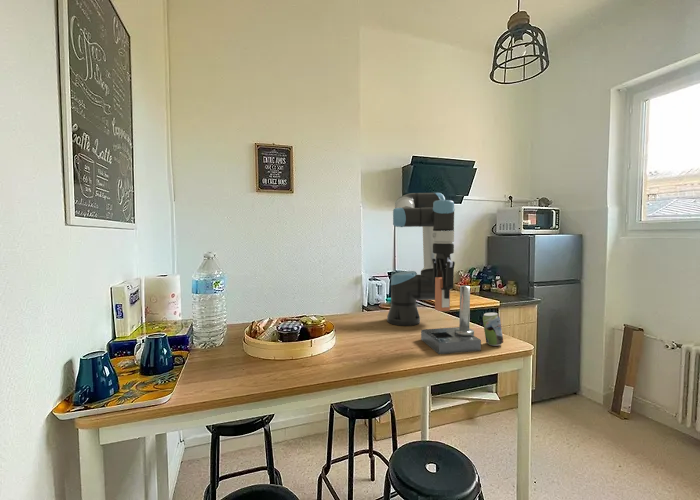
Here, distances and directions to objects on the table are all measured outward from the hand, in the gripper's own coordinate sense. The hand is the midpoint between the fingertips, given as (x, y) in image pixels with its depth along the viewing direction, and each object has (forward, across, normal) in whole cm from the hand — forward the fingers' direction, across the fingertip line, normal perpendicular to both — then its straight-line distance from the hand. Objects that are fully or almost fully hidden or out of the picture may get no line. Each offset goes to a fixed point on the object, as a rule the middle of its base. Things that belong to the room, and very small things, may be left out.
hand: (442, 305), depth 129 cm
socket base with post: (+15, 0, +3) cm, 16 cm away
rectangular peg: (+2, 0, 0) cm, 2 cm away
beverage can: (+15, +3, +19) cm, 25 cm away
